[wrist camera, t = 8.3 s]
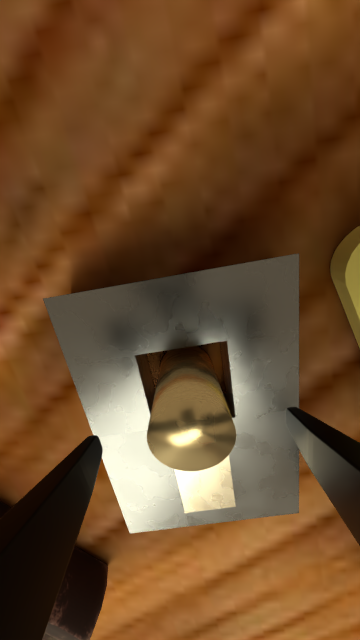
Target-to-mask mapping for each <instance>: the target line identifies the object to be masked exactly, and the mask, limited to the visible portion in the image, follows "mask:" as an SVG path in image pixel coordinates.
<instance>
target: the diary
mask: <svg viewBox="0 0 360 640" xmlns="http://www.w3.org/2000/svg"><path fill="white" fill-rule="evenodd" d="M10 509H11V507H9V506H7V505H5V504H4V503H2V502H0V518H2V517H3V516H4V515H5V514H6V513H7V512H8V511H9V510H10ZM107 574H108V565H106V564H105V563H103V562H101V561H99V560H98V559H96V558H94V557H92V556H91V555H89V554H87V553H85V552H83V551H82V550H80V549H78V548H76V547H74V548H73V551H72V554H71V557H70V560H69V563H68V566H67V569H66V572H65V575H64V578H63V581H62V583H61V586H60V589H59V592H58V595H57V598H56V601H55V604H54V607H53V610H52V613H51V616H50V619H49V621H48V624H47V627H46V630H45V633H44V636H43V639H42V640H90V637H91V635H92V632H93V630H94V627H95V624H96V621H97V619H98V616H99V613H100V610H101V608H102V603H103V599H104V595H105V590H106V586H107Z"/></svg>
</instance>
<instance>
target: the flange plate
mask: <svg viewBox="0 0 360 640" xmlns="http://www.w3.org/2000/svg"><path fill="white" fill-rule="evenodd" d="M43 300H44V303H45V305H46V308H47V311H48V313H49V316H50V319H51V322H52V324H53V327H54V330H55V332H56V335H57V338H58V340H59V343H60V346H61V349H62V351H63V354H64V357H65V359H66V362H67V365H68V367H69V370H70V373H71V375H72V378H73V381H74V384H75V386H76V389H77V392H78V394H79V397H80V400H81V402H82V405H83V408H84V411H85V413H86V416H87V419H88V421H89V424H90V427H91V429H92V432H93V435H98V437H99V439H100V442H101V445H102V448H103V453H102V459H103V462H104V465H105V467H106V470H107V473H108V475H109V478H110V481H111V483H112V486H113V489H114V491H115V494H116V497H117V500H118V502H119V505H120V508H121V510H122V513H123V516H124V518H125V521H126V524H127V527H128V529H129V532H130V533H137V532H145V531H153V530H162V529H170V528H178V527H187V526H195V525H203V524H211V523H220V522H228V521H236V520H244V519H253V518H261V517H269V516H277V515H286V514H294V513H299V448H298V446H297V444H296V442H295V440H294V438H293V437H292V435H291V433H290V431H289V429H288V427H287V424H286V408H288V407H297V408H299V254H293V255H287V256H281V257H276V258H270V259H264V260H259V261H253V262H247V263H242V264H236V265H231V266H225V267H219V268H214V269H208V270H202V271H197V272H191V273H185V274H180V275H174V276H169V277H163V278H157V279H152V280H146V281H140V282H135V283H129V284H123V285H118V286H112V287H107V288H101V289H95V290H90V291H84V292H78V293H73V294H67V295H62V296H56V297H50V298H45V299H43ZM215 342H220V348H221V356H222V364H223V372H224V381H225V389H226V393H224V394H223V395H224V398H225V401H226V403H227V406H228V409H229V411H230V414H231V417H232V420H233V422H234V425H235V428H236V442H235V445H234V447H233V449H232V451H231V453H230V454H229V455H228V456H227V457H226V458H225V459H224V460H223V461H222V462H220V463H219V464H217V465H215V466H213V467H211V468H208V469H205V470H200V471H180V470H176V469H173V468H170V467H168V466H166V465H164V464H163V463H161V462H160V461H159V460H157V459H156V458H155V457H154V455H153V454H152V453H151V451H150V449H149V446H148V443H147V430H148V425H149V420H150V415H151V410H152V405H153V400H154V395H155V388H154V384H153V379H152V375H151V371H150V367H149V363H148V359H147V353H153V352H159V351H165V350H172V349H178V348H184V347H190V346H196V345H203V344H209V343H215Z"/></svg>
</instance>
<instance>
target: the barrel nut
mask: <svg viewBox="0 0 360 640" xmlns="http://www.w3.org/2000/svg"><path fill="white" fill-rule="evenodd" d="M235 442H236V428H235V425H234V422H233V420H232V417H231V414H230V411H229V409H228V406H227V403H226V401H225V398H224V395H223V392H222V390H221V387H220V384H219V382H218V379H217V376H216V373H215V371H214V368H213V365H212V362H211V360H210V357H209V356H208V354H207V353H206V352H205V351H204V350H203V349H201V348H200V347H198V346H190V347H184V348H178V349H172V350H169V351H168V352H167V353H166V354H165V355H164V357H163V359H162V361H161V365H160V370H159V375H158V380H157V385H156V390H155V395H154V400H153V405H152V410H151V415H150V420H149V425H148V430H147V443H148V446H149V449H150V451H151V453H152V454H153V455H154V457H155V458H156V459H157V460H159V461H160V462H161V463H163V464H164V465H166V466H168V467H170V468H173V469H176V470H180V471H200V470H205V469H208V468H211V467H213V466H215V465H217V464H219V463H220V462H222V461H223V460H224V459H225V458H226V457H227V456H228V455H229V454H230V453H231V451H232V449H233V447H234V445H235Z"/></svg>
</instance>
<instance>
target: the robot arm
mask: <svg viewBox="0 0 360 640" xmlns="http://www.w3.org/2000/svg"><path fill="white" fill-rule="evenodd" d="M286 424H287V427H288V429H289V431H290V433H291V435H292V437H293V438H294V440H295V442H296V444H297V446H298V448H299V450H300V452H301V454H302V455H303V457H304V459H305V461H306V463H307V465H308V466H309V468H310V469H311V471H312V473H313V474H314V476H315V477H316V479H317V480H318V482H319V484H320V485H321V487H322V488H323V490H324V491H325V493H326V494H327V496H328V497H329V499H330V501H331V502H332V504H333V505H334V507H335V508H336V510H337V511H338V513H339V514H340V516H341V518H342V519H343V521H344V522H345V524H346V525H347V527H348V528H349V530H350V532H351V533H352V535H353V536H354V538H355V539H356V541H357V542H358V544H359V545H360V443H359V442H357V441H356V440H354V439H352V438H350V437H348V436H347V435H345V434H343V433H341V432H340V431H338V430H336V429H334V428H333V427H331V426H329V425H327V424H326V423H324V422H322V421H320V420H318V419H317V418H315V417H313V416H311V415H310V414H308V413H306V412H304V411H303V410H301V409H299V408H297V407H288V408H286ZM102 453H103V448H102V445H101V442H100V439H99V437H98V435H93V436H89V437H87V438H86V439H85V440H84V441H83V442H82V443H81V444H80V445H79V446H77V447H76V448H75V449H74V450H73V451H72V452H71V453H70V454H69V455H68V456H67V457H66V458H65V459H64V460H63V461H61V462H60V463H59V464H58V465H57V466H56V467H55V468H54V469H53V470H52V471H51V472H50V473H49V474H48V475H46V476H45V477H44V478H43V479H42V480H41V481H40V482H39V483H38V484H37V485H36V486H35V487H34V488H33V489H32V490H30V491H29V492H28V493H27V494H26V495H25V496H24V497H23V498H22V499H21V500H20V501H19V502H18V503H17V504H15V505H14V506H13V507H12V508H11V509H10V510H9V511H8V512H7V513H6V514H5V515H4V516H3V517H2V518H0V640H42V639H43V636H44V633H45V630H46V627H47V624H48V621H49V619H50V616H51V613H52V610H53V607H54V604H55V601H56V598H57V595H58V592H59V589H60V586H61V583H62V581H63V578H64V575H65V572H66V569H67V566H68V563H69V560H70V557H71V554H72V551H73V548H74V545H75V542H76V540H77V537H78V534H79V531H80V528H81V525H82V522H83V519H84V516H85V513H86V510H87V507H88V504H89V502H90V498H91V495H92V492H93V489H94V485H95V481H96V477H97V473H98V469H99V465H100V461H101V457H102Z"/></svg>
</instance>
